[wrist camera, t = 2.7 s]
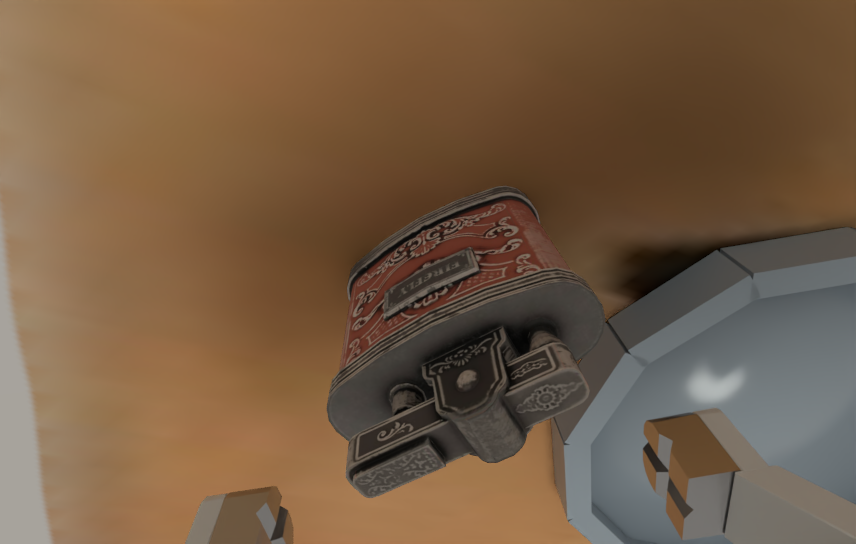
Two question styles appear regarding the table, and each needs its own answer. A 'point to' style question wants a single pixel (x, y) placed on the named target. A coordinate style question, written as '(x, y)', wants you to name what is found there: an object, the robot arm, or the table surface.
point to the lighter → (458, 341)
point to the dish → (718, 379)
